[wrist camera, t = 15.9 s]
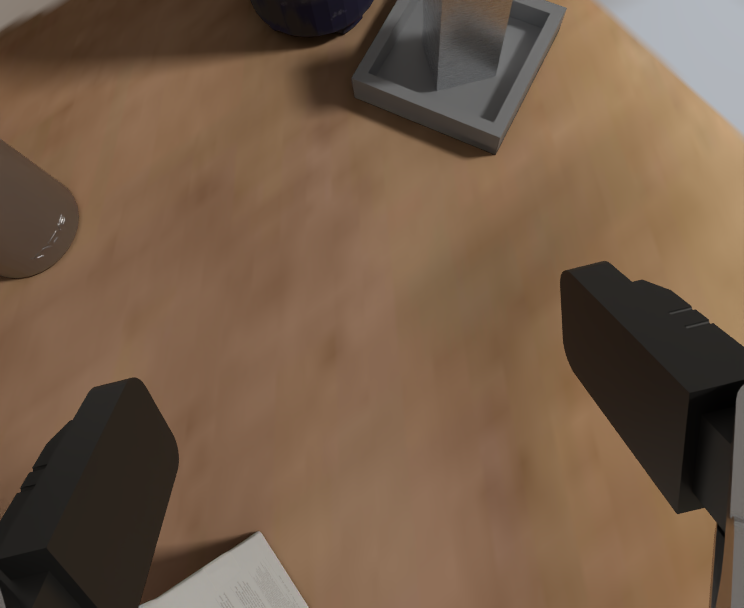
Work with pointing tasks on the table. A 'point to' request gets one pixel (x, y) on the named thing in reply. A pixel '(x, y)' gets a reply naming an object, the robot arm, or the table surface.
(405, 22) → the tray
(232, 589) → the skincare box
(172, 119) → the table surface
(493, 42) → the grey tall block
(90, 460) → the robot arm
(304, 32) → the grenade
